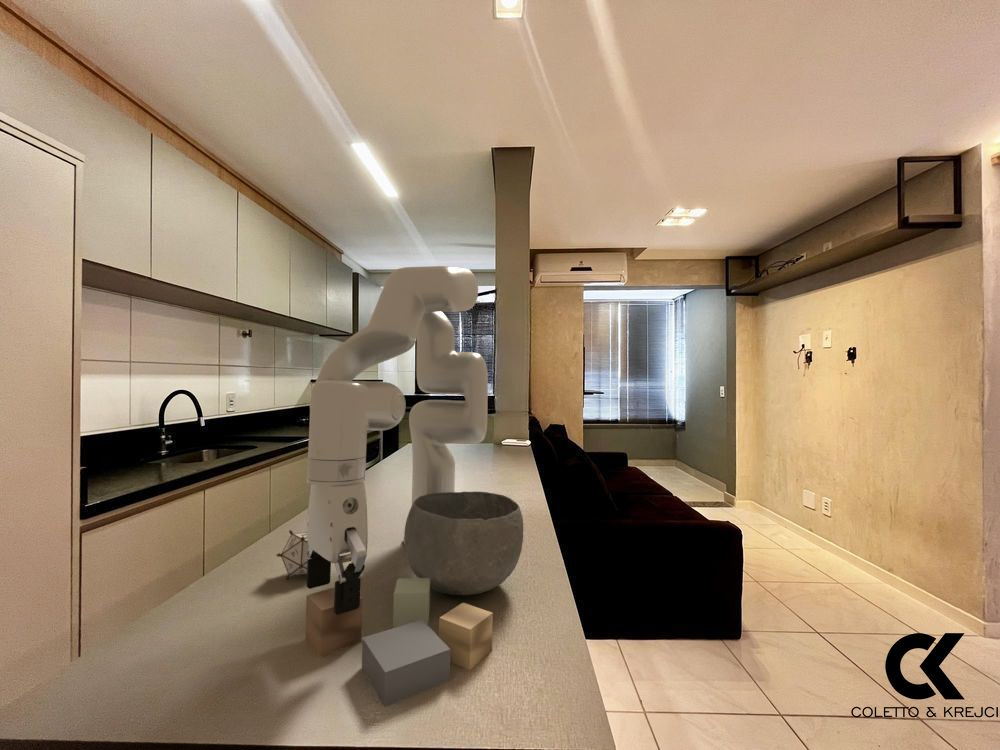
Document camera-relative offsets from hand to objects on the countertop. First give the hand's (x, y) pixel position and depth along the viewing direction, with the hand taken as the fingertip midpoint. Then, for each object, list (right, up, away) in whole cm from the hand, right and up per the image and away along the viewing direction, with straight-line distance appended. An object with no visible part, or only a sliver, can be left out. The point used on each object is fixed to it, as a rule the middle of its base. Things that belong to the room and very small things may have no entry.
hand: (331, 597), depth 61 cm
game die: (-13, -7, +21) cm, 26 cm away
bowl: (+16, -7, +17) cm, 25 cm away
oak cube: (+18, -7, -2) cm, 19 cm away
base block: (+11, -6, -6) cm, 15 cm away
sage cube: (+10, -7, +7) cm, 13 cm away
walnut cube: (0, -6, 0) cm, 6 cm away
